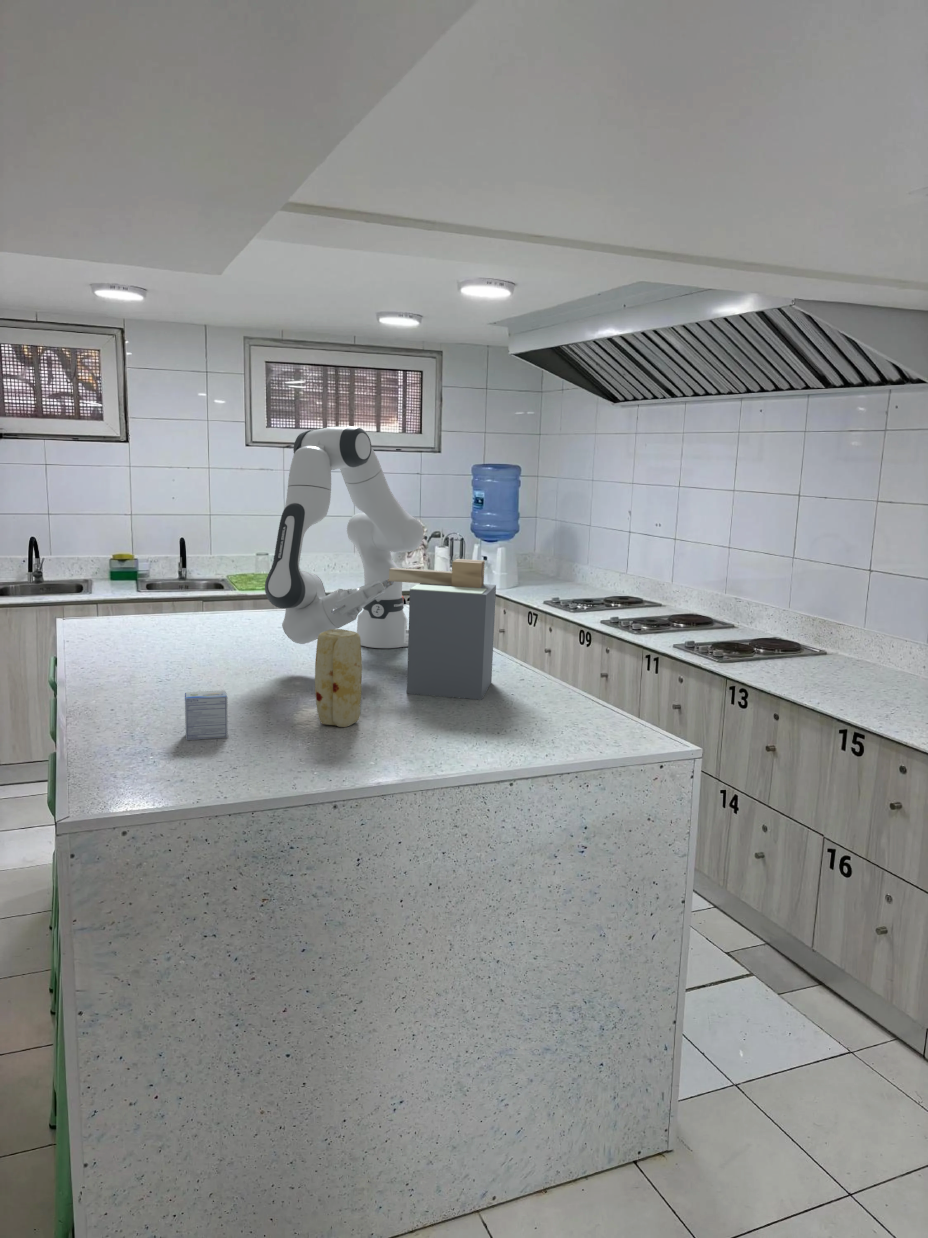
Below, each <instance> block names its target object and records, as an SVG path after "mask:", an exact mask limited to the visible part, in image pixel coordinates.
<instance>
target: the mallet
mask: <svg viewBox="0 0 928 1238" xmlns="http://www.w3.org/2000/svg"><path fill="white" fill-rule="evenodd" d="M485 561H486V560H483V559H481V560H480V559H468V558H467V559H462V558H456V559H454V560H453V561H452V562H451V570H450V571H449V570H437V569H436V570H435V569H417V568H405V567H404V568H403V567H399V568H391V569H389V581H394V582H402V583H412V584H420V583H425V584H441V585H451V586H458V587H473V588H480V587H482V586H483V585H484V584H485V581H484V580H485Z"/></svg>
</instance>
